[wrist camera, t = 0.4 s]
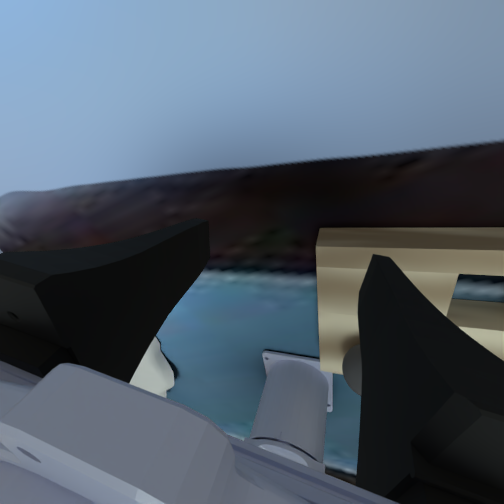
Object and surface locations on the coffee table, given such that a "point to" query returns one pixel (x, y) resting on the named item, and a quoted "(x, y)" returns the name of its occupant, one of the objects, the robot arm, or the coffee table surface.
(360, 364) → the black rubber ball
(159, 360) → the figurine
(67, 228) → the coffee table surface
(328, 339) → the cream knobbed board
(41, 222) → the coffee table surface
